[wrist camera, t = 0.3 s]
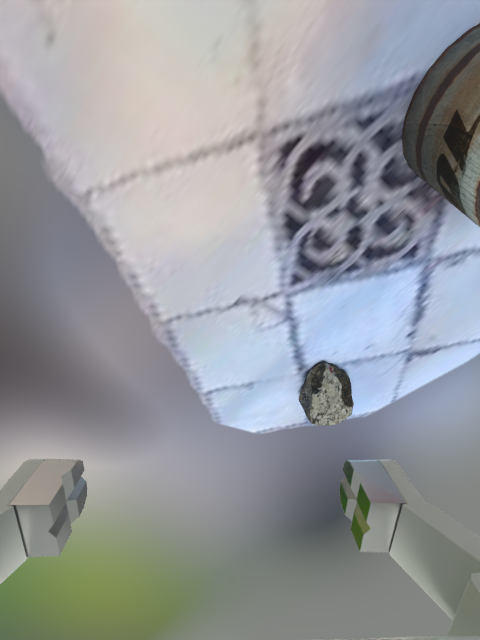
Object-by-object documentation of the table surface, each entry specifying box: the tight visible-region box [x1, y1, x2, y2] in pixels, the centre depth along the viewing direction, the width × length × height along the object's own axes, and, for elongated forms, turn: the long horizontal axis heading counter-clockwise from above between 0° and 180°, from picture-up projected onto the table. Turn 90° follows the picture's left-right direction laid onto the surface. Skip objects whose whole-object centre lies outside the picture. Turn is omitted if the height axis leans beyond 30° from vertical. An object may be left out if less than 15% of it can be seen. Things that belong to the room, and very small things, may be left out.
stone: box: [299, 362, 354, 425], centre depth 97 cm, size 19×18×15 cm
